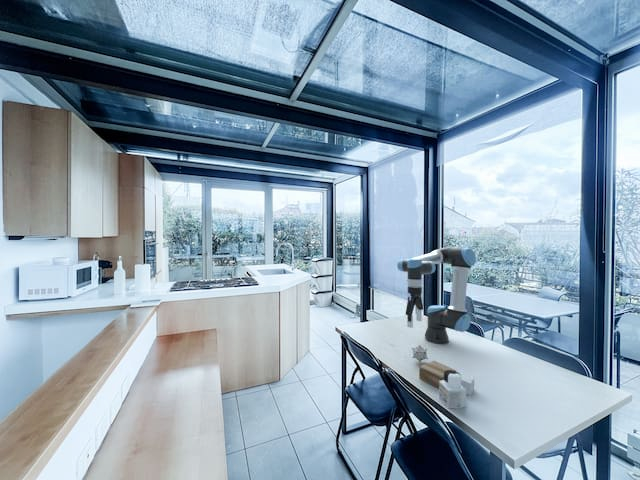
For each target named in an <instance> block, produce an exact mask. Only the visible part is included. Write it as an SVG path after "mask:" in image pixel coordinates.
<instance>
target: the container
mask: <svg viewBox="0 0 640 480" xmlns="http://www.w3.org/2000/svg"><path fill="white" fill-rule="evenodd" d="M460 374H461V373H460V372H458V371H457V370H456V371H453V370H446V371H445V372H444V380H441V381H439V389H438V397H439V399H440V400H441V401H442V402H443V404H445V406H446V407H447V409H463V408H462V407H466V408H467V395H466V389H465V388H464V387H463V386H462V385H461V375H460Z"/></svg>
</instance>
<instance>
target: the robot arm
mask: <svg viewBox="0 0 640 480" xmlns="http://www.w3.org/2000/svg"><path fill="white" fill-rule="evenodd" d="M476 258H477V257H476V254H475V251H474V250H473V249H472V248H471V247H459V246H458V247H456V246H447V247H442V248H439V249H438V248H437V249H435V250H433V251H431V252H430V253H425V254H422V255H420V256H416V257H412V258H409V259H404V258H403V259H399V260H398V261H397V264H396V265H397V269H398V270H399V271H401V272H403V273H407V280H406V282H407V294H410V296H408V297H407V303H406V309H405V316H406V317H407V318H406V319H407V322H406V323H407V325H406V327H408V328H411V329H413V327H414V323H413V322H414V317H413V313H414V309H415V306H416V316H415V317H416V319H415V320H416V321H417V322H422V321H423V320H422V319H423V318H422V317H423V316H422V313H423V310H424V304H423V301H422V300H423V299H422V294H423V289H422V286H423V281H422V280H423V278H422V277H423V276H424V275H431V274H433V273H435V271H436V270H437V269H436V265H439V264H447V265H448V264H449V265H450V267H451V268H452V270H453V271H452V279H451V280H452V281H451V290H450V291H451V292H450V303H449V306H448V307H447V306H445V305H439V304H438V305H430V306H428V308H427V312H426V314H427V328H426V330H425V333H424V339H425V340H427V341H428V342H431V343H433V344H447V343H449V335H448V332H447V329H450V330H453V331H456V332H460V333H465V332H466V331H468V329H469V327H470V326H471V319H472V318H471V316H470V314H468V310H467V309H466V300H467V299H466V298H467V286H468V273H469V271H470V270H471V269H472V267H473V266H475V264H476ZM422 275H423V276H422ZM446 307H447V308H446Z"/></svg>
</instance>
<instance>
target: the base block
mask: <svg viewBox="0 0 640 480" xmlns="http://www.w3.org/2000/svg"><path fill="white" fill-rule="evenodd" d="M446 370H453V371H456V372H457V370H456V369H455V368H454V369H453V368H451V367H450V366H447V365H445V364H442V363H440V362H438V361H436V360H433V361H429V362H427V363H424V364H423V365H419V371H418V372H419V373H418V375H419V379H420V380H421V381H423V382H425V383H427V384H429V385H431V386H432V387H435V388H437V389H438V390H439V381H441V380H444V372H445V371H446Z"/></svg>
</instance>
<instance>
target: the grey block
mask: <svg viewBox="0 0 640 480" xmlns="http://www.w3.org/2000/svg"><path fill="white" fill-rule="evenodd" d="M459 374H460V375H461V385H462V386H463V387H464V388H465V389H466V396H469V397H472V395H473V393H474V391H475V378H474V377H472V376H470V375H466V374H463V373H459Z"/></svg>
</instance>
